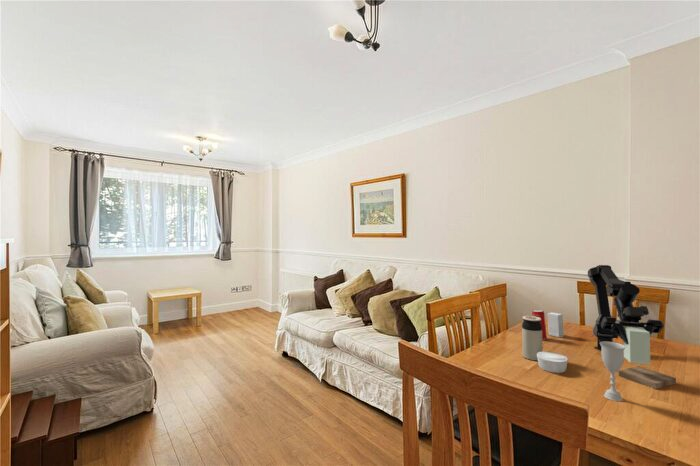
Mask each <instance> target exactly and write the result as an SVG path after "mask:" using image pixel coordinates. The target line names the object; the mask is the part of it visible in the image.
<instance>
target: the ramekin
mask: <svg viewBox="0 0 700 466" xmlns="http://www.w3.org/2000/svg"><path fill="white" fill-rule="evenodd" d="M537 358H538V360H537V364H538V366H539V368H540V369H541V370H543V371H545V372H549V373H553V374H563V373H565V372H566V371H567V366H568V365H567V364H568V361H569V358H568V357H567V356H566V355H563V354H561V353H558V352H553V351H543V352H538V353H537Z"/></svg>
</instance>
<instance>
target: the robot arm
mask: <svg viewBox="0 0 700 466" xmlns="http://www.w3.org/2000/svg"><path fill="white" fill-rule="evenodd" d="M587 277H588V278H589V282H590V283H591V284H592V286H594V290H595V291H594V292H595V300H596V305H597V311H598V312H597V313H598V317H597V318H596V320H595V324H594V326H593V329H592V333H593V335H594V336H595V337H596V338H597V340H596V341H597V345H596V346H594V349H597V350H600V351H601V345H600V343H599V342H602V341H607V342H614V339H617V340H618V339H619V338H620V339H621V340H622V341H623V343H624V342H625V343H626V344H628V339H627V336H626V334H625V332H624V329H623V327H634V328H643V329H645V330H646V331H648V332H650V335H653V334H659V333H661V331H662V330H663V328H664V327H665V325H664V323H663V321H662V320H660V319H650V318H649V319H647V321H646V322H643V321H642V317H644V316H648V315H649V314H650V311H649V308H648V306H647V305H646V306H645V305H641V306H634V304H633V303H634V302H635V301H636V300H637V297H638V296H639V294H640V292H641V291H640V290H641V289H640V288H639V286H636V284H632V283H631V281H624V280H621V279H619V278H618V276H617V275H616V274H615V272H614V271H613V270H612V266H611V265H609V264H599V265H596V266H595V267H594V266H593V267H591V268H589V269H588V270H587ZM609 296H610V297H614V298H613V305H614V306H615V308H616V312H617V314H616V315H617V318H619V319H617V318H616V317H615V316H612V315H611V309H610V308H611V307H610V302H609ZM640 321H641V322H640Z"/></svg>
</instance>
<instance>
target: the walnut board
mask: <svg viewBox="0 0 700 466" xmlns="http://www.w3.org/2000/svg"><path fill="white" fill-rule="evenodd" d="M618 376H619V377H621V378H623V379H627V380H629V381H632V382H635V383H637V384H639V385H642V386H645V385H646V387H648V386H649V388H651V387H652V388H651V389H654V388H655V389H654V390H658V388H659V389H661V387H662V388H666V387H668V386H672V385H675V383H677V377H674V376H671V375H667V374H665V373H661V372H657V371H654V370H652V369H649V368H645V367H642V366H640V365H637V366H633V367H630V368H625V369H620V370H619V371H618Z"/></svg>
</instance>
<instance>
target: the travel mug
mask: <svg viewBox="0 0 700 466" xmlns="http://www.w3.org/2000/svg"><path fill="white" fill-rule="evenodd" d="M522 320H523V322H522V323H521V334H522V335H521V336H522V338H521V341H522V342H521V343H522V356H523V358H525V359H526V360H529V361H530V360H531V361H538V358H537V353H538V352H544V351H543V350H544V349H543V340H542V325H541V323H540V321H541V318H539V317H535V316H532V315H523V316H522Z"/></svg>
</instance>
